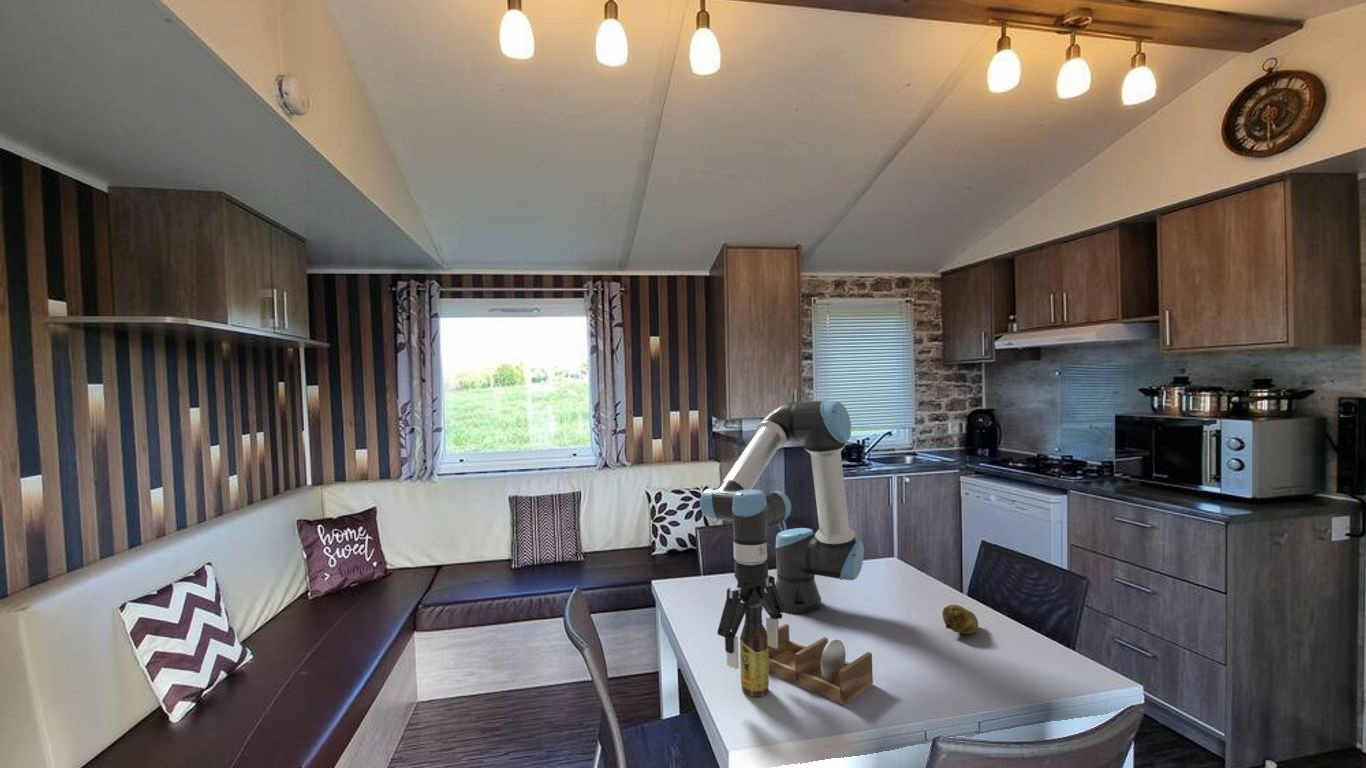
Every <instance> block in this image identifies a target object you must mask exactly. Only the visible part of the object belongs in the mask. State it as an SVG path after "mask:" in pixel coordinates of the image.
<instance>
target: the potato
mask: <svg viewBox="0 0 1366 768" xmlns="http://www.w3.org/2000/svg"><path fill="white" fill-rule="evenodd" d="M942 619H943V622H944V624H945V627H946V629H949V630H951V631H953V632H955V633H960V634H963V635H972V634H974V633H975V632H976V631H977V630H978V628H979V621H978V618H977V616H976V615H975V614H974V613H973V612H972V611H970V610H968V609H966V608H964V607H962V606H961V605H958V604H949V605H947V606H946V607H943V610H942Z"/></svg>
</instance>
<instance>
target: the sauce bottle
mask: <svg viewBox="0 0 1366 768" xmlns="http://www.w3.org/2000/svg"><path fill="white" fill-rule="evenodd" d="M763 609H764V608H763V606H762V603H761V602H755V603H754V604H752V605H750V607H749V609H747V610H746V612H745V614H744V616H745V617H744V625H743V627H742V630H741V632H740V633H741V634H740V637H739V646H740V647H739V652H740V655H739V656H740V659H739V660H740V684H741V690H742V692H743V693H744V694H746V696H747V697H753V698H754V697H755V698H759V697H760V698H761V697H762V696H765V695H767V694H768V692H769V685H770V683H769V682H770V681H769V680H770V678H769V677H770V676H769V675H770V673H769V666H768V642H767V637H768V636H767V631H766V628H765V627H766V626H764V625H763V614H762V613H763Z"/></svg>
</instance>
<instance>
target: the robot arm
mask: <svg viewBox="0 0 1366 768" xmlns="http://www.w3.org/2000/svg"><path fill="white" fill-rule="evenodd" d="M755 427H756V428H755V435H754V436H753V437H752V439H751V440H750V441H749V443H748V444H747V446H746V447H745V449H744V450H743V451H742V453H741V454H740V456H739V457H738V458H737V460H736V461H735V462H734V464H733V466H732V467H731V468H730V470H729V471H728V473H727V474H726V476H725V477H724V479H723V480H722V481H721V483H720V484H719V485H718V487H717V488H715V487H712V488H708V487H707V488H706V489H705V490H704V491H702V493H701V495H700V499H699V507H700V508H699V509H700V510H701V514H702V515H703V516H704V517H706V518H707V519H713V520H717V521H719V520H721V521H730V522H732V526H733V527H732V528H733V559H734V560H735V561H734V563H733V568H734V569H733V571H734V572H733V573H734V578H735V579H736V581H737V585H736V587H735V588H732V587H727V589H726V599H725V604H724V607H723V610H722V614H721V618H720V622H719V624H718V625H719V626H718V629H717V632H716V633H717V635H718V636H719V637H723V638H724V644H725V645H724V648H725V650H724V651H725V652H726V665H727V667H728V666H729V667H731V668H734V669H735V670H738V669H739V668H740V661H739V660H740V659H739V656H740V655H739V636H737V633H738V630H739V628H740V626H741V623H742V620H743V618H745V617H744V616H745V612H746V610H747V609H749V607H750V605H752V604H754V603H755V602H761V603H762V608H763V609H764V611H765V612H766V613H767V616H766V617H765V627H766V628H765V629H766V631H767V636H768V637H767V642H768V646H770V647H773V648H775V649H777V648H778V627H779V620H781V619H782V618H783V614H784V613H785V612H786V613H791V614H807V613H812V612H815V611H818V610H820V609H821V608H822V597H821V594H820V591H819V588H818V585H817V583H816V580H815V578H816V577H815V576H819V577H820V576H821V577H826V578H830V579H831V578H832V579H838V580H841V581H843V580H845V581H854V580H856V579H857V578H858V577H859V575H860V573H861V570H862V567H863V563H864V555H865V546H864V543H863V542H862V541H861V540H859V539H856V534H855V531H854V530H853V529H852V528H850V524H849V523H850V522H849V517H848V516H849V514H848V507H847V498H846V496H847V495H846V488H845V487H846V486H845V480H844V478H845V477H844V471H843V462H842V451H843V449H844V448H845V447H846V442H848V441H849V440H850V438H851V435H852V431H851V430H852V424H851V418H850V414H849V412H848V410H847V408H846V406H844V404H842V402H840V401H835V400H834V401H832V400H831V401H830V400H813V401H811V400H810V401H790V402H785V403H783V404H781V405H778V406H777V407H775V408H773V409H772V410H771V411H770V412H768V413H767V414H766V415H765V416H764V417H763V418H762V419H761V420H760V421H759V422H758V424H757V426H755ZM793 441H794V442H795V441H798V442H803V444H804V450H805V451H806V452H807V453H808V454H810V459H811V468H812V476H813V484H814V495H815V502H816V511H817V512H816V513H817V519H818V520H817V521H818V526H819V527H818V528H819V529H818V530H817V531H816V532H814V531H813V529H811V528H807V527H798V528H796V527H795V528H790V529H785V530H782V531H779V532H778V533H777V534H776V537H775V556H776V558H775V561H776V581H775V576H772V575H769V563H768V561H767V560H768V528H770V527H773V526H776V525H778V524H781V523H782V522H784V521H785V520H787V519H788V517H789V516H790V514H791V512H792V503H791V500H790V498H789V497H788V496H787V495H786V494H785V493H784V492H782V491H779V490H772V491H771V490H770V491H767V492H765V491H763V490H759V489H753V488H754V487H755V485H756V483H757V481H759V479H760V477H761V476H762V474H763V473H764V471H765V470H766V467H767V466H768V465H769V463H770V462H771V460H772V459H773V457H774V455H775V453H776V452H777V451H778V450H779V449H781V448H783V447H784V446H785V445H786V443H788V442H793Z"/></svg>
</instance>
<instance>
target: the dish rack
mask: <svg viewBox="0 0 1366 768" xmlns="http://www.w3.org/2000/svg"><path fill="white" fill-rule="evenodd" d="M828 639H829V638H827V637H825V636H824V637H822V638H820V639H818V640H816V641H815V642H813V643H811V644H808V645H807V646H806V645H802V644H799V643H797V642H794V641H791V640H790V625H789V624H787V623H784V624H783V625H780V626H778V648H777V649H775V648H773V647H770V646H768V666H769V675H773V676H775V677H777V678H779V679H782V680H785V681H786V682H789V683H790V684H791V683H792V684H794V685H795V686H798V687H800V688H803V689H805V690H808V691H810V692H812V693H814V694H816V695H819V696H822V697H824V698H826V699H828V700H831V701H832V702H835V703H837V704H840V705H843V706H846V705H847V704H849V703H850V702H851V701H853V700H854V699H856V698H857V697H858V696H859V695H861V694H863V692H865V691H866V690H867V689H869V688H871V686H873V684H874V679H873V678H874V677H873V675H874V674H873V653H872V652H869V651H867V652H865V653H864V654H862V655H861V656H859V657H858V658H857V659H854V660H853V661H852V662H849V661H847V660H846V648H845V645H844V643H843V642H842V641H841V640H840V639H836V638H832V639H830V640H828Z"/></svg>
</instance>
